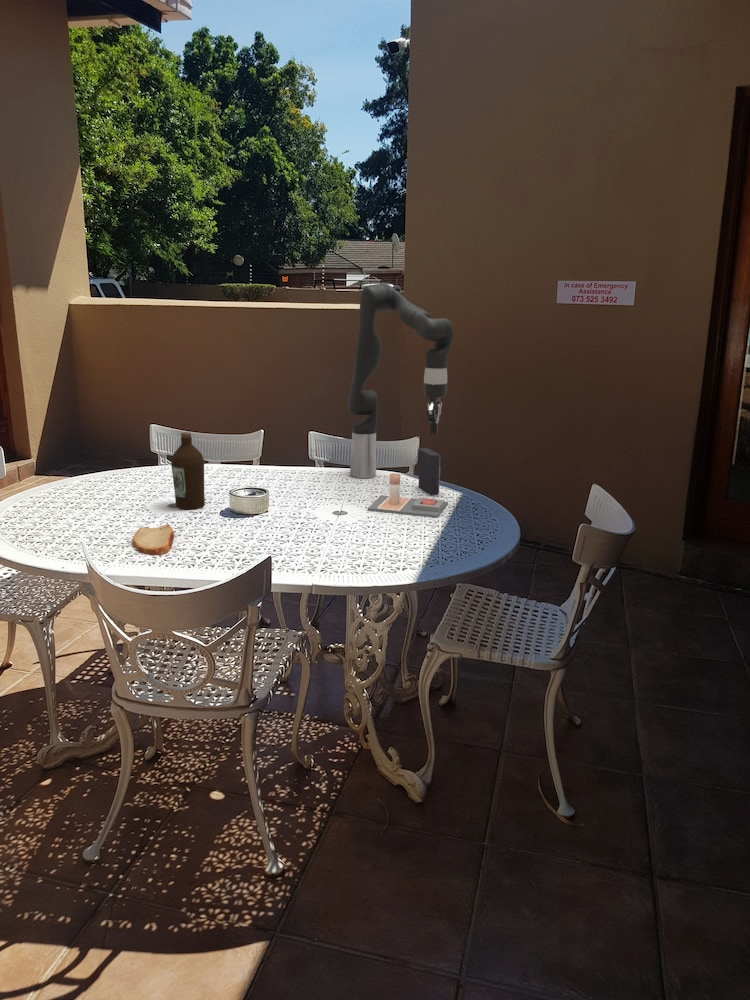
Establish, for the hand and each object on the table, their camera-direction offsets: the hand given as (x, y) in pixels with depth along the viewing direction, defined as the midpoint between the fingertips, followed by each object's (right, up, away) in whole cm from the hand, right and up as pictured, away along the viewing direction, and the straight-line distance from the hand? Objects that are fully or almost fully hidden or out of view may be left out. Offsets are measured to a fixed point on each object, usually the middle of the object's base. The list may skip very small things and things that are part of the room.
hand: (433, 433), depth 248 cm
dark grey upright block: (0, -19, +24) cm, 31 cm away
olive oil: (-82, -24, +4) cm, 85 cm away
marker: (-13, -23, +7) cm, 27 cm away
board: (-8, -24, +6) cm, 26 cm away
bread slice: (-83, -35, -29) cm, 95 cm away
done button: (-1, -24, +3) cm, 25 cm away
